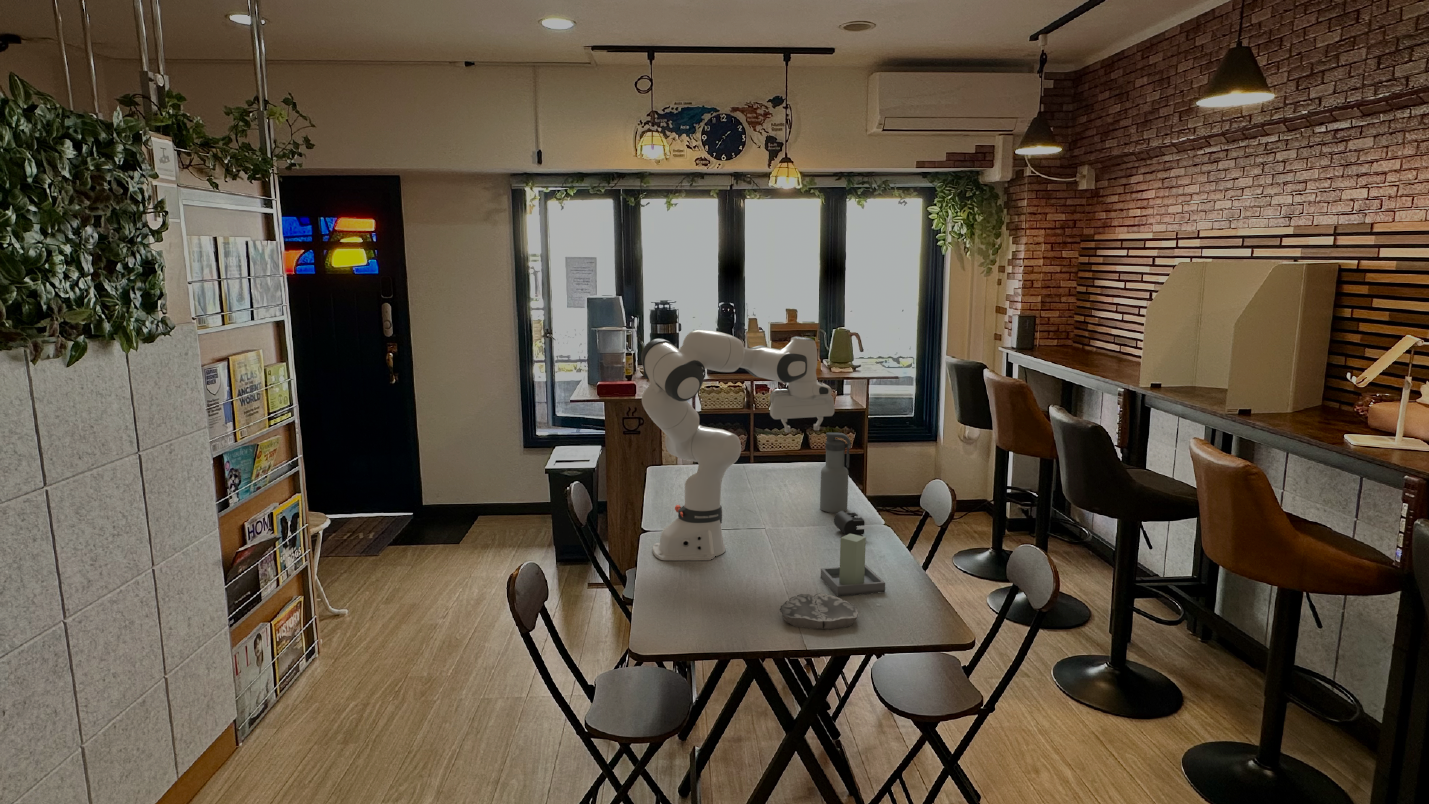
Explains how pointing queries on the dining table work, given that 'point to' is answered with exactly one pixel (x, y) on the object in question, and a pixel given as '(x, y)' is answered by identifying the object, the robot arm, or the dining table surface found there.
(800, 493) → the dining table surface
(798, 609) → the brain slice
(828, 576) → the grey tray
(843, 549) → the sage block
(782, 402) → the robot arm
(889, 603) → the dining table surface
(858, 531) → the end cap
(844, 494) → the water bottle
